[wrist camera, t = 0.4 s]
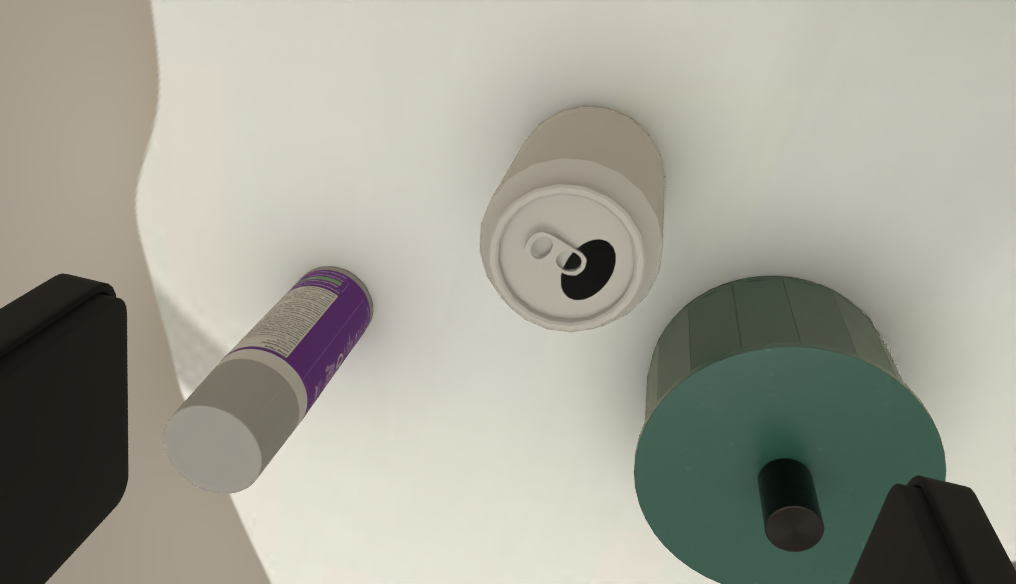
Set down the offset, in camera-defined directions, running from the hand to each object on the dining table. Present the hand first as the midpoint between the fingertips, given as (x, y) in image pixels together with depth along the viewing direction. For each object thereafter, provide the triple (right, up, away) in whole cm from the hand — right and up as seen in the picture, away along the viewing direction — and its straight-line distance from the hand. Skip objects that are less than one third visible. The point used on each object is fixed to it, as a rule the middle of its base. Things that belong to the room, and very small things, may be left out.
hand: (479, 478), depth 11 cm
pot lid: (+13, -6, +30) cm, 33 cm away
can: (+5, +8, +35) cm, 36 cm away
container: (-10, +2, +41) cm, 42 cm away
